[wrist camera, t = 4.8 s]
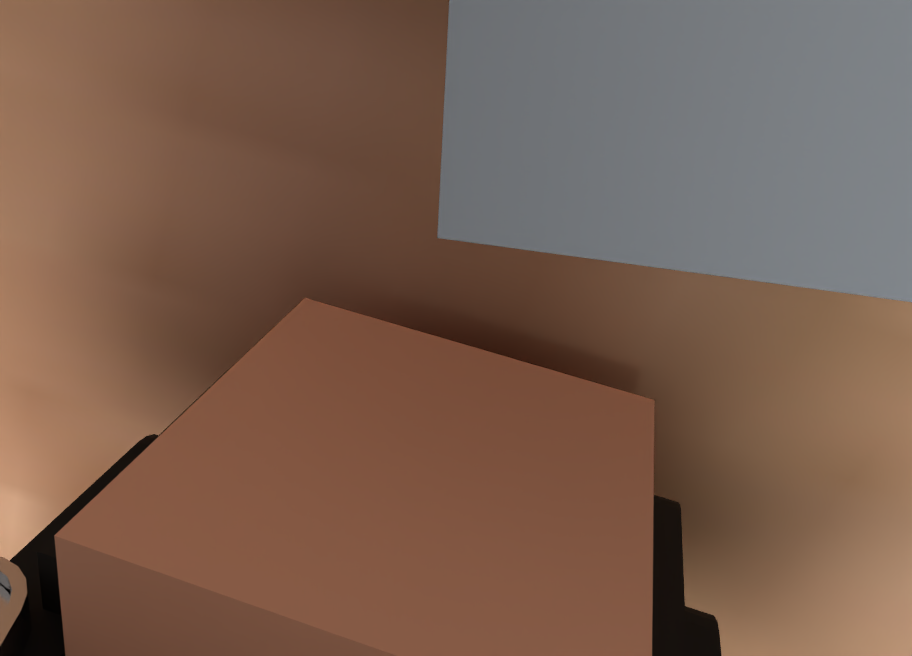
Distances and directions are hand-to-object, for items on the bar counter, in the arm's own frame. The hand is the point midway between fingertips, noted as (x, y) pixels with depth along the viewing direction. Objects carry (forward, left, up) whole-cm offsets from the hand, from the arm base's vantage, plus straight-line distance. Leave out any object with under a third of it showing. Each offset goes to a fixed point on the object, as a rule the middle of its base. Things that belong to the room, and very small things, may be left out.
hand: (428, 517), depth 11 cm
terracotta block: (0, 0, -1) cm, 1 cm away
